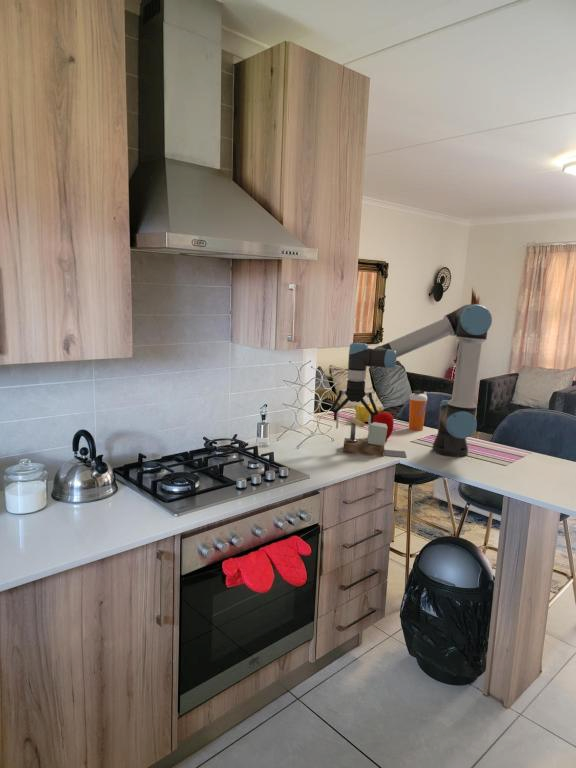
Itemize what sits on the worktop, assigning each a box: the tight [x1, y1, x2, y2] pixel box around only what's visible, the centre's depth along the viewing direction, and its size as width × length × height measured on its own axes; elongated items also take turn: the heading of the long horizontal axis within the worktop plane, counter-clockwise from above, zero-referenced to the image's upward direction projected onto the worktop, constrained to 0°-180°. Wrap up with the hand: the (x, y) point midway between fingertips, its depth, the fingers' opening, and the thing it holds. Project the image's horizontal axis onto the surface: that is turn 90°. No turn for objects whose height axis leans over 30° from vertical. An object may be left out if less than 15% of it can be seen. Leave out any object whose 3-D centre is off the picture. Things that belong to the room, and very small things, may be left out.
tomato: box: [373, 409, 394, 440], centre depth 250 cm, size 13×11×14 cm
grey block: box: [366, 422, 388, 447], centre depth 227 cm, size 7×7×8 cm
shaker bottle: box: [408, 389, 428, 432], centre depth 274 cm, size 9×9×20 cm
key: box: [347, 416, 366, 442], centre depth 225 cm, size 11×4×10 cm, turn 17°
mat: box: [384, 449, 408, 459], centre depth 227 cm, size 9×9×1 cm
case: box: [343, 437, 385, 457], centre depth 229 cm, size 17×10×4 cm, turn 82°
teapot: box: [354, 402, 384, 424], centre depth 287 cm, size 14×13×10 cm
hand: (352, 429), depth 225 cm, fingers open, 13 cm apart
